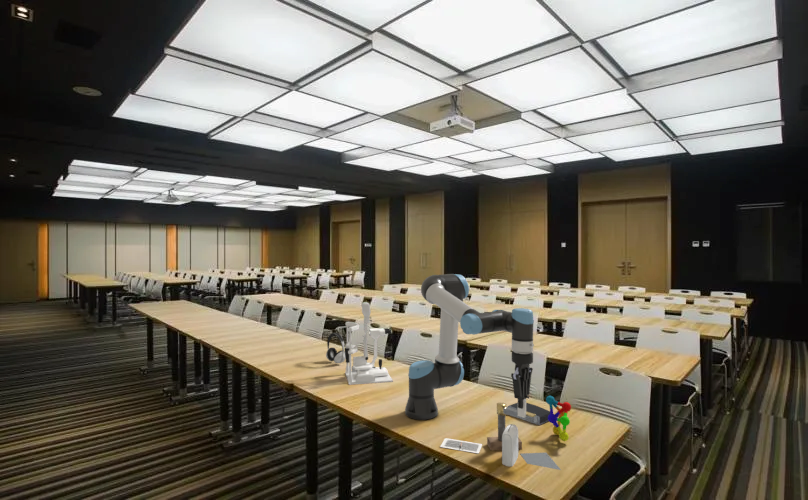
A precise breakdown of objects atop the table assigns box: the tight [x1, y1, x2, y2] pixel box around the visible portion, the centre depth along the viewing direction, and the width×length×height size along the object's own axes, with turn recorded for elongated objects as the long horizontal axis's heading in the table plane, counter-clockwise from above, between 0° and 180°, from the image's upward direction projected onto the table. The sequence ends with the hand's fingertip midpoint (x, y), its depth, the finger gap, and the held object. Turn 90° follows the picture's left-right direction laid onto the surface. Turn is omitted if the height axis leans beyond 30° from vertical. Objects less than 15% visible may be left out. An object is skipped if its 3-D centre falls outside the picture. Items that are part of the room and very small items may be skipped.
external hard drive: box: [507, 402, 550, 426], centre depth 188 cm, size 12×18×4 cm
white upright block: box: [501, 423, 519, 467], centre depth 148 cm, size 10×4×12 cm, turn 152°
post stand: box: [486, 414, 523, 451], centre depth 158 cm, size 12×5×13 cm, turn 94°
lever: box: [496, 402, 537, 424], centre depth 153 cm, size 16×4×4 cm, turn 45°
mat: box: [520, 452, 562, 471], centre depth 145 cm, size 10×14×1 cm
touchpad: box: [439, 437, 483, 454], centre depth 158 cm, size 8×15×2 cm, turn 69°
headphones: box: [325, 332, 346, 364], centre depth 280 cm, size 19×8×20 cm, turn 44°
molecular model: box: [545, 395, 572, 442], centre depth 165 cm, size 15×10×15 cm, turn 5°
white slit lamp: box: [344, 301, 394, 386], centre depth 247 cm, size 24×27×45 cm
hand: (521, 416), depth 149 cm, fingers closed
